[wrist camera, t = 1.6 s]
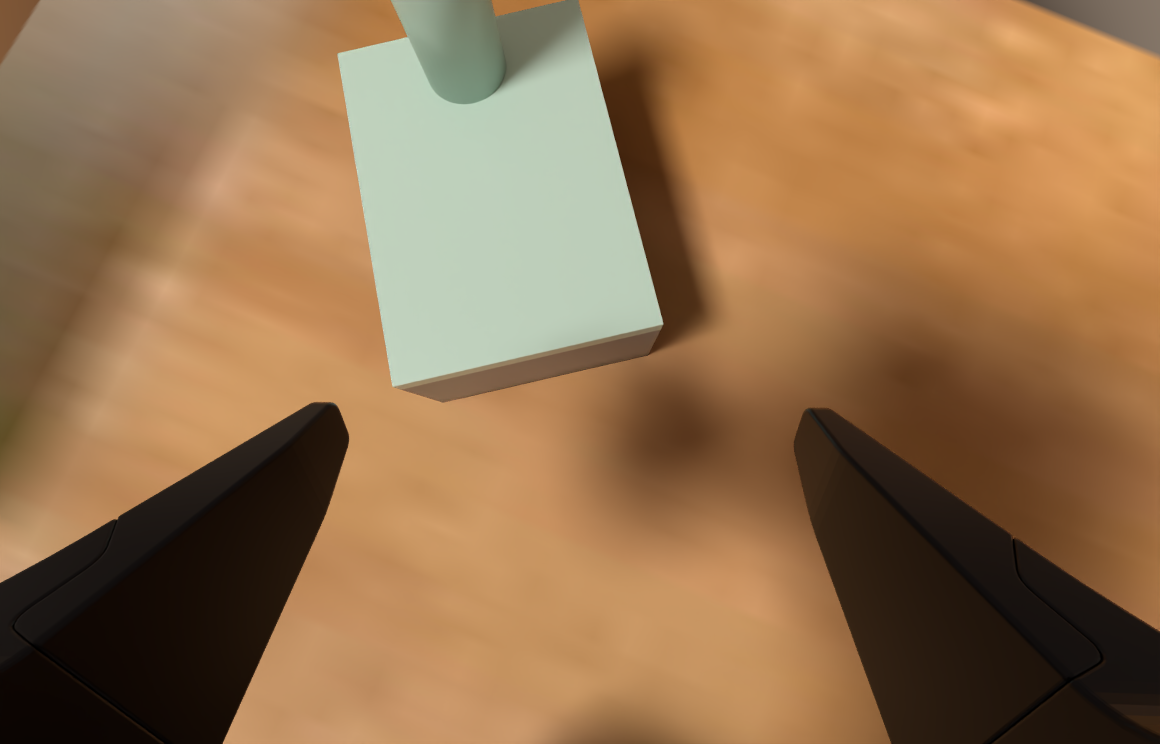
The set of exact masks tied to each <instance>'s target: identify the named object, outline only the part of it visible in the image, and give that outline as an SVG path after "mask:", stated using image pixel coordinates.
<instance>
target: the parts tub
mask: <svg viewBox="0 0 1160 744" xmlns="http://www.w3.org/2000/svg"><path fill="white" fill-rule="evenodd" d="M659 332H660V330H657V331H653V332H648V333H644V334H640V335H635V336H631V337H627V338H622V339H618V340H614V341H610V342H605V343H601V344H597V345H592V346H588V347H584V348H579V349H575V350H571V351H566V352H562V353H558V354H553V355H549V356H545V357H540V358H536V359H532V360H527V361H523V362H519V363H514V364H510V365H506V366H501V367H497V368H493V369H488V370H484V371H480V372H475V373H471V374H467V375H462V376H458V377H454V378H449V379H445V380H441V381H436V382H432V383H428V384H423V385H419V386H415V387H410V388H406V389H402V390H404V391H408V392H411V393H414V394H417V395H420V396H424V397H427V398H430V399H433V400H437V401H440V402H447V401H452V400H456V399H460V398H465V397H469V396H473V395H478V394H482V393H486V392H491V391H495V390H499V389H504V388H508V387H512V386H517V385H521V384H525V383H530V382H534V381H538V380H543V379H547V378H551V377H556V376H560V375H564V374H569V373H573V372H577V371H582V370H586V369H590V368H595V367H599V366H603V365H608V364H612V363H616V362H621V361H625V360H629V359H634V358H638V357H642V356H647V355H648V354H649V352H650V350H651V348H652V346H653V344H654V342H655V340H656V338H657V336H658V334H659Z"/></svg>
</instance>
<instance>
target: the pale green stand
mask: <svg viewBox="0 0 1160 744" xmlns="http://www.w3.org/2000/svg"><path fill="white" fill-rule="evenodd" d="M391 1H392V4H393V6H394V8H395V10H396V12H397V14H398V17H399V19H400V21H401V23H402V25H403V27H404V30H405V32H406V34H407V36H408V37H407V38H402V39H398V40H394V41H389V42H385V43H381V44H376V45H372V46H368V47H364V48H359V49H355V50H351V51H346V52H342V53H338V60H339V66H340V72H341V78H342V84H343V90H344V96H345V102H346V108H347V114H348V120H349V126H350V132H351V138H352V144H353V150H354V157H355V163H356V169H357V175H358V181H359V187H360V193H361V199H362V205H363V211H364V217H365V223H366V229H367V235H368V241H369V247H370V253H371V259H372V265H373V272H374V278H375V284H376V290H377V296H378V302H379V308H380V314H381V320H382V326H383V332H384V338H385V344H386V350H387V356H388V362H389V368H390V374H391V381H392V387H395V388H398V389H401V390H402V389H406V388H410V387H415V386H419V385H423V384H428V383H432V382H436V381H441V380H445V379H449V378H454V377H458V376H462V375H467V374H471V373H475V372H480V371H484V370H488V369H493V368H497V367H501V366H506V365H510V364H514V363H519V362H523V361H527V360H532V359H536V358H540V357H545V356H549V355H553V354H558V353H562V352H566V351H571V350H575V349H579V348H584V347H588V346H592V345H597V344H601V343H605V342H610V341H614V340H618V339H622V338H627V337H631V336H635V335H640V334H644V333H648V332H653V331H657V330H661V328H662V326H663V320H662V317H661V313H660V309H659V305H658V301H657V298H656V294H655V290H654V286H653V282H652V279H651V275H650V271H649V267H648V263H647V260H646V256H645V252H644V248H643V245H642V241H641V237H640V233H639V229H638V226H637V222H636V218H635V214H634V210H633V207H632V203H631V199H630V195H629V191H628V188H627V184H626V180H625V176H624V172H623V169H622V165H621V161H620V157H619V153H618V150H617V146H616V142H615V138H614V134H613V131H612V127H611V123H610V119H609V115H608V112H607V108H606V104H605V100H604V96H603V93H602V89H601V85H600V81H599V77H598V74H597V70H596V66H595V62H594V58H593V55H592V51H591V47H590V43H589V39H588V36H587V32H586V28H585V24H584V20H583V17H582V13H581V9H580V5H579V1H578V0H565V1H561V2H557V3H552V4H548V5H544V6H540V7H535V8H531V9H527V10H522V11H518V12H514V13H509V14H505V15H501V16H497V17H495V13H494V9H493V5H492V1H491V0H391Z"/></svg>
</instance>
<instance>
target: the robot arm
mask: <svg viewBox="0 0 1160 744" xmlns="http://www.w3.org/2000/svg"><path fill="white" fill-rule="evenodd" d="M348 444H349V434H348V431H347V428H346V426H345V423H344V421H343V418H342V416H341V413H340V410H339V408H338V406H337V405H336V404H334V403H331V402H314V403H311V404H309V405H307V406H305V407H304V408H302V409H300V410H299V411H297V412H295V413H294V414H292V415H290V416H288V417H287V418H285V419H283V420H282V421H280V422H278V423H277V424H275V425H273V426H271V427H270V428H268V429H266V430H265V431H263V432H261V433H260V434H258V435H256V436H255V437H253V438H251V439H249V440H248V441H246V442H244V443H243V444H241V445H239V446H238V447H236V448H234V449H232V450H231V451H229V452H227V453H226V454H224V455H222V456H221V457H219V458H217V459H215V460H214V461H212V462H210V463H209V464H207V465H205V466H204V467H202V468H200V469H198V470H197V471H195V472H193V473H192V474H190V475H188V476H187V477H185V478H183V479H181V480H180V481H178V482H176V483H175V484H173V485H171V486H170V487H168V488H166V489H164V490H163V491H161V492H159V493H158V494H156V495H154V496H153V497H151V498H149V499H147V500H146V501H144V502H142V503H141V504H139V505H137V506H136V507H134V508H132V509H130V510H129V511H127V512H125V513H124V514H122V515H120V516H119V517H118V520H117V519H114V520H112V521H110V522H108V523H106V524H105V525H103V526H101V527H100V528H98V529H96V530H95V531H93V532H91V533H90V534H88V535H86V536H84V537H83V538H81V539H79V540H77V541H76V542H74V543H72V544H70V545H69V546H67V547H65V548H63V549H62V550H60V551H58V552H56V553H55V554H53V555H51V556H49V557H48V558H46V559H44V560H42V561H40V562H38V563H36V564H35V565H33V566H31V567H29V568H27V569H25V570H24V571H22V572H20V573H18V574H16V575H14V576H12V577H11V578H9V579H7V580H5V581H3V582H1V583H0V744H223V741H224V739H225V737H226V735H227V733H228V730H229V728H230V726H231V724H232V722H233V719H234V717H235V715H236V713H237V710H238V708H239V706H240V704H241V702H242V699H243V697H244V695H245V693H246V690H247V688H248V686H249V684H250V682H251V679H252V677H253V675H254V673H255V671H256V668H257V666H258V664H259V662H260V659H261V657H262V655H263V653H264V651H265V648H266V646H267V644H268V642H269V639H270V637H271V635H272V633H273V631H274V628H275V626H276V624H277V622H278V619H279V617H280V615H281V613H282V611H283V608H284V606H285V604H286V602H287V600H288V597H289V595H290V593H291V591H292V588H293V586H294V584H295V582H296V580H297V577H298V575H299V573H300V571H301V568H302V566H303V564H304V562H305V560H306V557H307V555H308V553H309V551H310V549H311V546H312V544H313V542H314V540H315V537H316V535H317V533H318V531H319V529H320V526H321V524H322V522H323V519H324V517H325V515H326V512H327V509H328V506H329V504H330V501H331V498H332V495H333V491H334V488H335V485H336V482H337V479H338V476H339V473H340V470H341V467H342V464H343V460H344V457H345V454H346V451H347V448H348ZM794 452H795V457H796V461H797V465H798V470H799V474H800V478H801V482H802V487H803V491H804V495H805V499H806V504H807V508H808V512H809V516H810V520H811V523H812V526H813V529H814V532H815V535H816V538H817V541H818V544H819V546H820V549H821V552H822V555H823V557H824V560H825V563H826V566H827V568H828V571H829V574H830V577H831V579H832V582H833V585H834V588H835V590H836V593H837V596H838V599H839V601H840V604H841V607H842V610H843V612H844V615H845V618H846V620H847V623H848V626H849V629H850V631H851V634H852V637H853V640H854V642H855V645H856V648H857V651H858V653H859V656H860V659H861V662H862V664H863V667H864V670H865V673H866V675H867V678H868V681H869V684H870V686H871V689H872V692H873V695H874V697H875V700H876V703H877V706H878V708H879V711H880V714H881V717H882V719H883V722H884V725H885V728H886V730H887V733H888V736H889V738H890V741H891V744H1160V631H1158V630H1157V629H1155V628H1153V627H1152V626H1150V625H1148V624H1147V623H1145V622H1144V621H1142V620H1140V619H1139V618H1137V617H1136V616H1134V615H1132V614H1131V613H1129V612H1127V611H1126V610H1124V609H1123V608H1121V607H1120V606H1118V605H1116V604H1115V603H1113V602H1112V601H1110V600H1109V599H1107V598H1105V597H1104V596H1102V595H1101V594H1099V593H1097V592H1096V591H1094V590H1093V589H1091V588H1090V587H1088V586H1086V585H1085V584H1083V583H1082V582H1080V581H1079V580H1077V579H1076V578H1074V577H1073V576H1071V575H1070V574H1068V573H1067V572H1065V571H1064V570H1062V569H1061V568H1059V567H1058V566H1056V565H1055V564H1053V563H1052V562H1050V561H1049V560H1048V559H1046V558H1045V557H1043V556H1042V555H1040V554H1039V553H1037V552H1036V551H1034V550H1033V549H1032V548H1030V547H1029V546H1027V545H1026V544H1024V543H1023V542H1022V541H1020V540H1019V539H1016V538H1014V539H1013V537H1012V535H1011V534H1010V533H1008V532H1007V531H1005V530H1004V529H1003V528H1001V527H1000V526H998V525H997V524H995V523H994V522H992V521H991V520H990V519H988V518H987V517H985V516H984V515H982V514H981V513H980V512H978V511H977V510H975V509H974V508H972V507H971V506H969V505H968V504H967V503H965V502H964V501H962V500H961V499H959V498H958V497H957V496H955V495H954V494H952V493H951V492H949V491H948V490H946V489H945V488H944V487H942V486H941V485H939V484H938V483H936V482H935V481H934V480H932V479H931V478H929V477H928V476H926V475H925V474H923V473H922V472H921V471H919V470H918V469H916V468H915V467H913V466H912V465H910V464H909V463H908V462H906V461H905V460H903V459H902V458H900V457H899V456H898V455H896V454H895V453H893V452H892V451H890V450H889V449H887V448H886V447H885V446H883V445H882V444H880V443H879V442H877V441H876V440H875V439H873V438H872V437H870V436H869V435H867V434H866V433H864V432H863V431H862V430H860V429H859V428H857V427H856V426H854V425H853V424H852V423H850V422H849V421H847V420H846V419H844V418H843V417H841V416H840V415H839V414H837V413H836V412H834V411H833V410H831V409H829V408H808V409H806V410H805V411H804V413H803V415H802V418H801V421H800V424H799V427H798V430H797V433H796V436H795V440H794Z"/></svg>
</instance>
